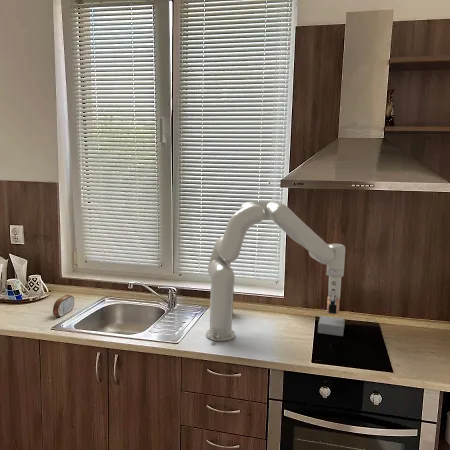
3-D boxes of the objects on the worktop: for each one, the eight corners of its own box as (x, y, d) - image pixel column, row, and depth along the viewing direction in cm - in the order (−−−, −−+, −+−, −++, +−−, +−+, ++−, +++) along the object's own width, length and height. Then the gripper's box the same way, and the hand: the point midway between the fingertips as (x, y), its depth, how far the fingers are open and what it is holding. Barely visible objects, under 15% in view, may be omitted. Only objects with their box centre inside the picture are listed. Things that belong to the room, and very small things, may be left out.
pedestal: (343, 336, 198) (343, 326, 197) (317, 332, 201) (318, 323, 200) (344, 327, 208) (344, 318, 208) (319, 324, 211) (320, 315, 211)
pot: (338, 315, 200) (339, 299, 199) (325, 313, 202) (326, 298, 200) (339, 311, 205) (340, 296, 204) (326, 309, 207) (327, 294, 206)
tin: (69, 308, 223) (69, 292, 221) (75, 309, 222) (75, 292, 221) (52, 319, 208) (51, 301, 207) (58, 319, 207) (58, 302, 206)
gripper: (343, 277, 191) (340, 318, 194) (344, 268, 208) (342, 306, 210) (324, 275, 193) (322, 316, 196) (327, 266, 210) (325, 304, 212)
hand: (332, 310), depth 203 cm, fingers closed on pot, 5 cm apart
